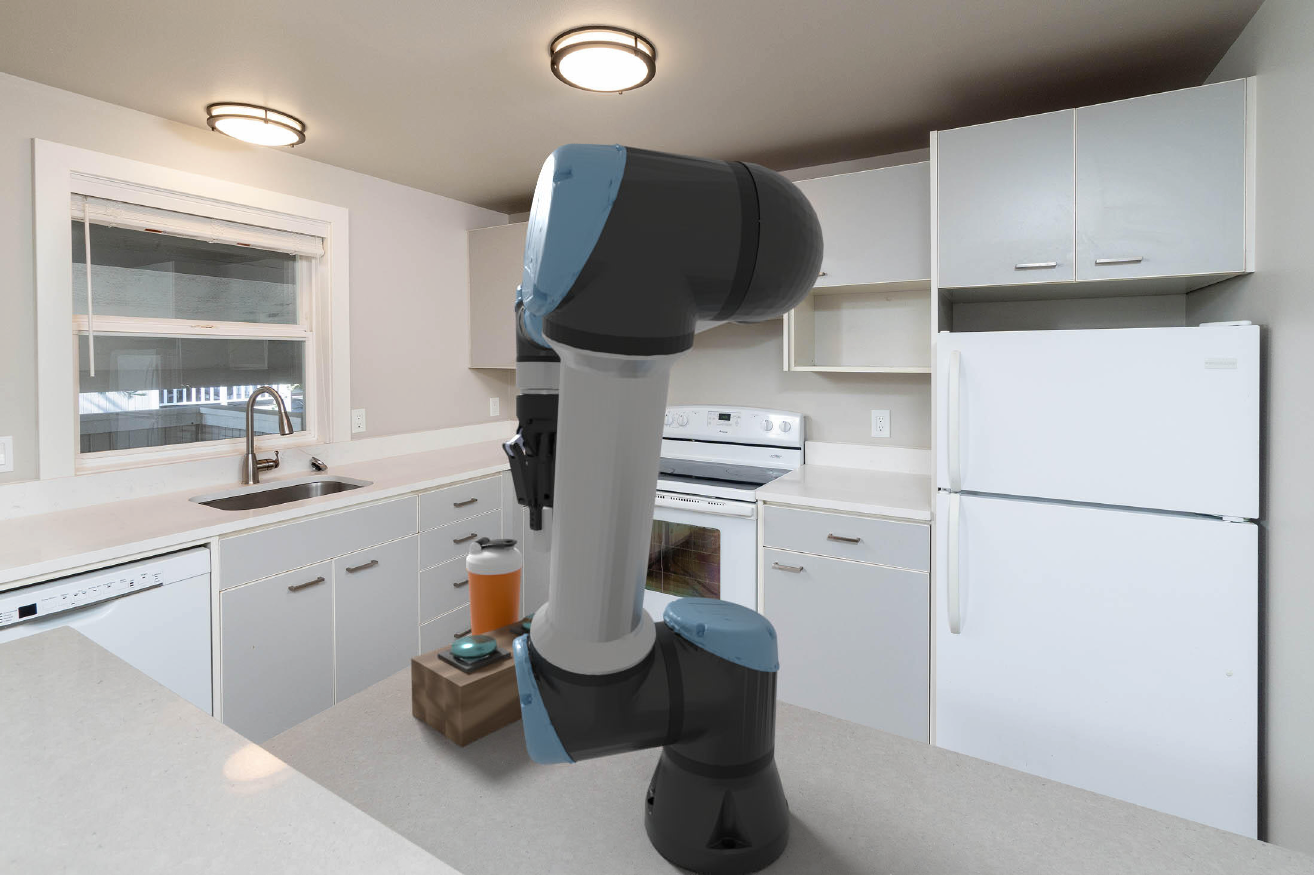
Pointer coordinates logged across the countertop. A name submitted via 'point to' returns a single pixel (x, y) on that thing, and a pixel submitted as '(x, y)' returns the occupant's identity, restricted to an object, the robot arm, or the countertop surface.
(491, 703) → the socket block
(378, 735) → the countertop surface
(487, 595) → the shaker bottle
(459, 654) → the peg left
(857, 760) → the countertop surface
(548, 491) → the robot arm
